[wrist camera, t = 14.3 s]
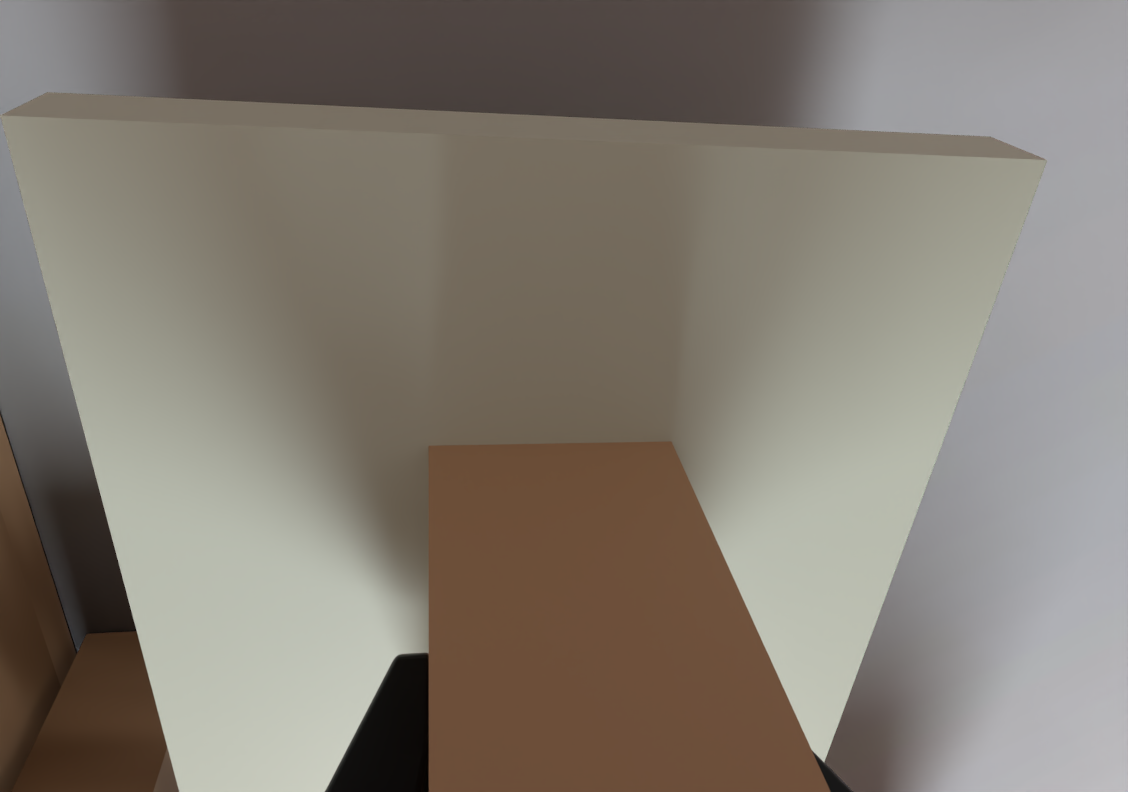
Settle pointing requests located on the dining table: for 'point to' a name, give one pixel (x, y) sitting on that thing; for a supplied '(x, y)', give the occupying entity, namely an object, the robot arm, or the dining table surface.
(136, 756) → the brown shallow open box
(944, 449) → the dining table surface
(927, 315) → the lid
